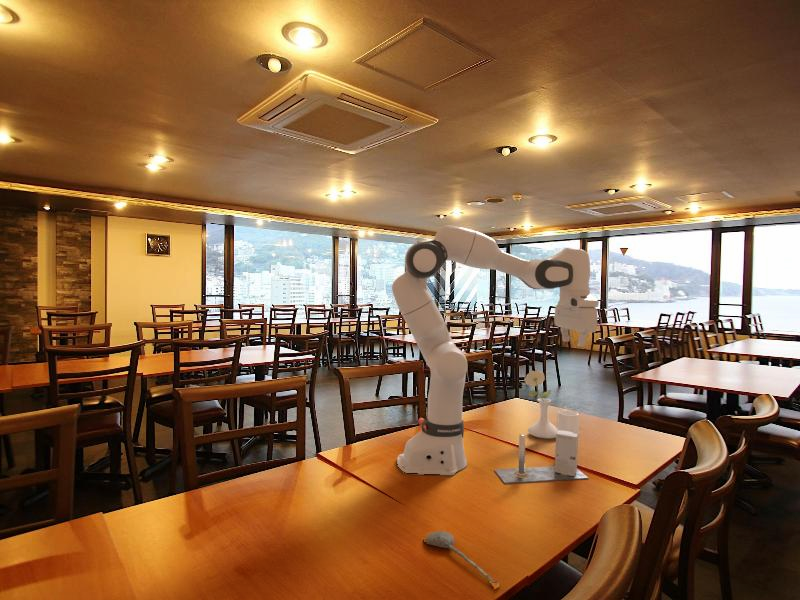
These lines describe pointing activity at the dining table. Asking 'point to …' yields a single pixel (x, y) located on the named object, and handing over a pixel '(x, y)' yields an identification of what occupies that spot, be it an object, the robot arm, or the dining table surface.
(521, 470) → the steel pin
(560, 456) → the skincare box
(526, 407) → the dining table surface
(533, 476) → the bolt-hole strip
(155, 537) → the dining table surface
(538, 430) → the flower in vase
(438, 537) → the soupspoon
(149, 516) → the dining table surface
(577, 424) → the drinking glass
